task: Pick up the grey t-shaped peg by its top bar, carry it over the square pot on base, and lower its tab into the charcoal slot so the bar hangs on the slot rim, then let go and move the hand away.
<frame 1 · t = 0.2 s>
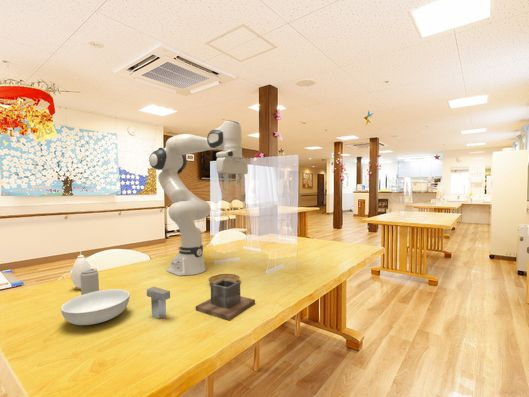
hand: (233, 183, 134), 48 cm above the table, tool pointing down, fingers open, 8 cm apart
plant saucer: (224, 284, 132), on the table
beverage can: (90, 298, 117), on the table
grey t-shaped peg: (159, 316, 99), on the table
serving bowl: (98, 318, 99), on the table
square pot on base: (226, 306, 106), on the table
sauce bottle: (82, 288, 129), on the table
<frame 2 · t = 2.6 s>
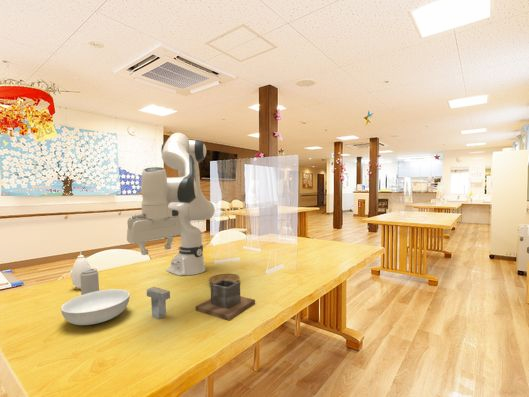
hand: (156, 251, 98), 23 cm above the table, tool pointing down, fingers open, 8 cm apart
nothing on the table moved.
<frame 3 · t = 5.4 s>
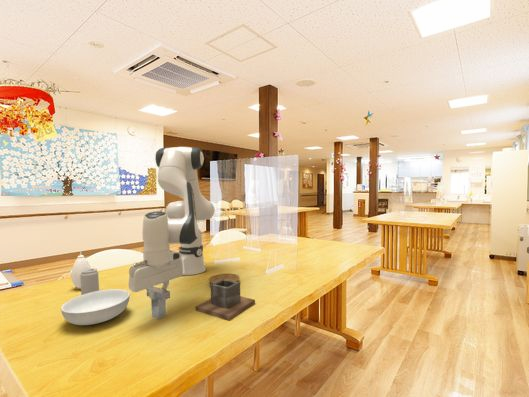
hand: (158, 295, 99), 7 cm above the table, tool pointing down, fingers closed on grey t-shaped peg, 3 cm apart
grey t-shaped peg: (159, 316, 99), on the table, touching gripper
everything else where it was.
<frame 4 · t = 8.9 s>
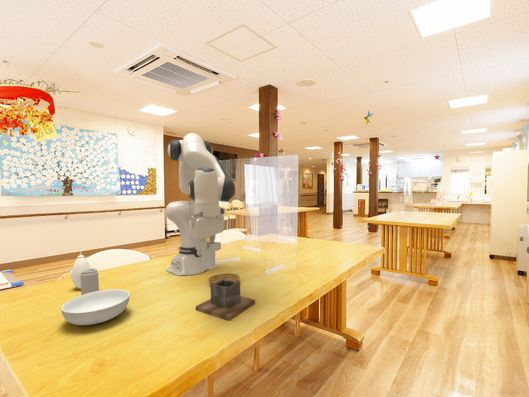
hand: (208, 248, 103), 23 cm above the table, tool pointing down, fingers closed on grey t-shaped peg, 3 cm apart
grey t-shaped peg: (208, 267, 103), point 16 cm above the table, touching gripper
everything else where it was.
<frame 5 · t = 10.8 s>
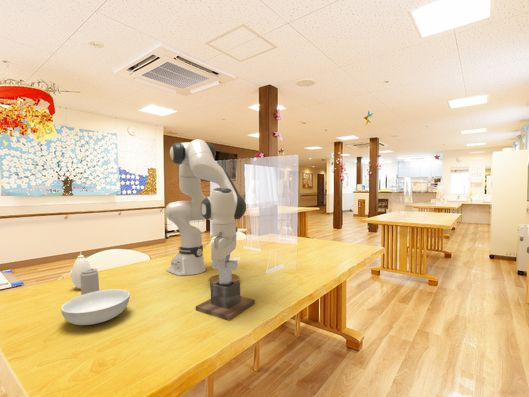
hand: (224, 266, 105), 16 cm above the table, tool pointing down, fingers closed on grey t-shaped peg, 3 cm apart
grey t-shaped peg: (225, 286, 105), point 8 cm above the table, touching gripper
everything else where it was.
when the fingers open (10 cm above the table, at t = 12.5 s): grey t-shaped peg stays where it is, resting on square pot on base.
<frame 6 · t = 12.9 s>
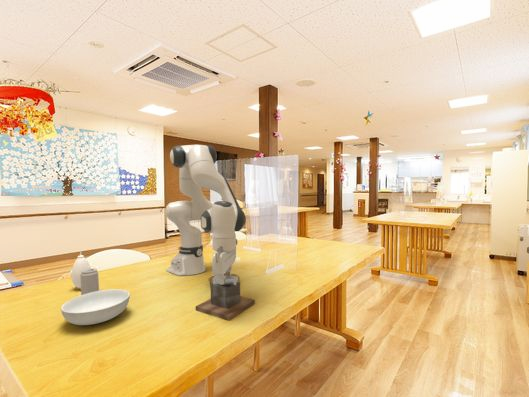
hand: (225, 280, 105), 10 cm above the table, tool pointing down, fingers open, 7 cm apart
grey t-shaped peg: (225, 301, 106), point 2 cm above the table, touching square pot on base
everything else where it was.
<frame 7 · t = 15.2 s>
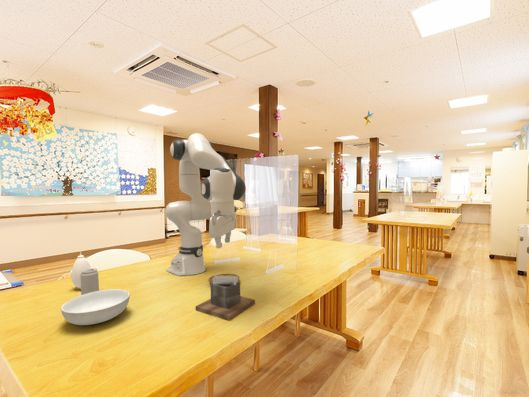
hand: (223, 245, 107), 23 cm above the table, tool pointing down, fingers open, 8 cm apart
nothing on the table moved.
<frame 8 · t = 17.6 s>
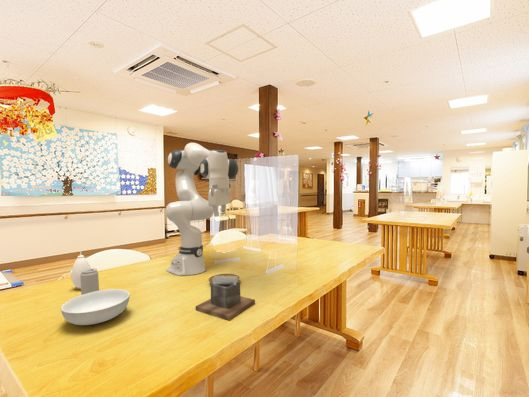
hand: (219, 215, 126), 33 cm above the table, tool pointing down, fingers open, 8 cm apart
nothing on the table moved.
at the end: grey t-shaped peg 0.0 cm off-centre on the square pot on base, point 2.0 cm above the square pot on base's base; grey t-shaped peg tilted 0°; the gripper is holding nothing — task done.
